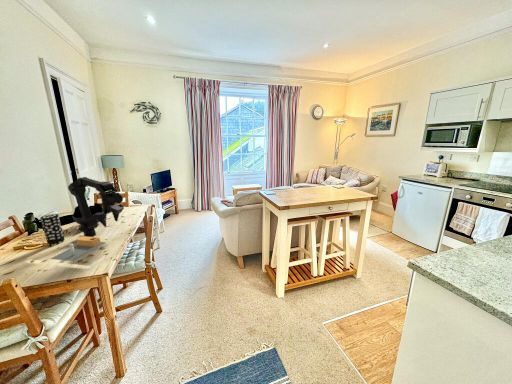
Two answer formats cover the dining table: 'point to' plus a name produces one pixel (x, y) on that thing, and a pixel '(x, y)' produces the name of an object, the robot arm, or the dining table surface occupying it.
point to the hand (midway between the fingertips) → (111, 223)
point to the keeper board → (75, 252)
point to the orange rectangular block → (88, 241)
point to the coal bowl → (93, 210)
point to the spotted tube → (52, 229)
